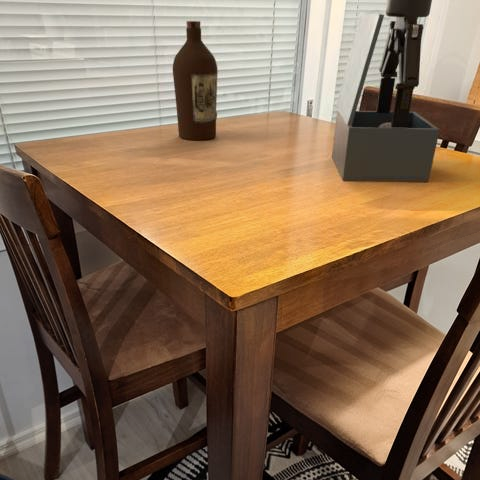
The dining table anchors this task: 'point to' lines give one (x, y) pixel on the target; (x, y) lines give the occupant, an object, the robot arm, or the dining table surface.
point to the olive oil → (195, 87)
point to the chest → (384, 148)
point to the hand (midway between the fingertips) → (390, 119)
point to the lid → (358, 64)
